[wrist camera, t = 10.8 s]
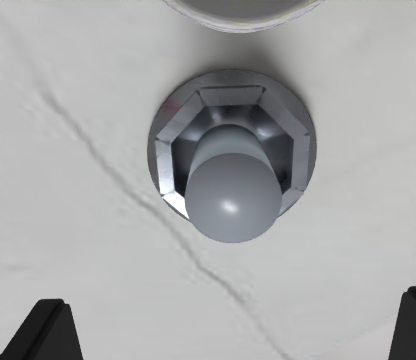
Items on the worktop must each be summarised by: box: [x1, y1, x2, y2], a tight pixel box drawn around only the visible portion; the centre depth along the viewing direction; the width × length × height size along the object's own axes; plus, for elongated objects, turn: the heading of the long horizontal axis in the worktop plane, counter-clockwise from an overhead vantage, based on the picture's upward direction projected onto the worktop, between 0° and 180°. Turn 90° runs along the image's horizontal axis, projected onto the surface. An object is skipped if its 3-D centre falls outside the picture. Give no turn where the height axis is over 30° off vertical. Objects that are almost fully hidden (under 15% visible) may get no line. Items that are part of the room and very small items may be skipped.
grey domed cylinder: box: [185, 124, 282, 243], centre depth 20 cm, size 5×5×7 cm
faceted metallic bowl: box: [147, 69, 316, 222], centre depth 23 cm, size 12×12×2 cm
